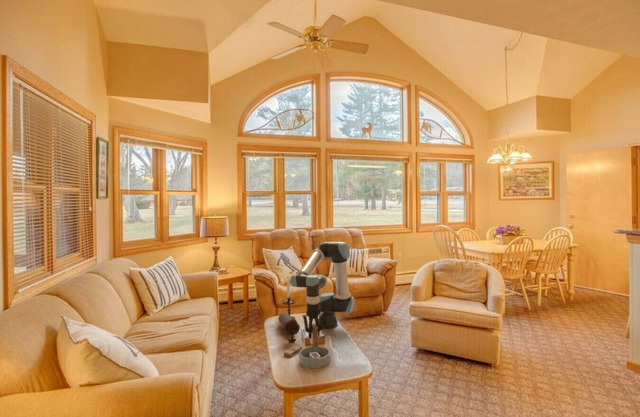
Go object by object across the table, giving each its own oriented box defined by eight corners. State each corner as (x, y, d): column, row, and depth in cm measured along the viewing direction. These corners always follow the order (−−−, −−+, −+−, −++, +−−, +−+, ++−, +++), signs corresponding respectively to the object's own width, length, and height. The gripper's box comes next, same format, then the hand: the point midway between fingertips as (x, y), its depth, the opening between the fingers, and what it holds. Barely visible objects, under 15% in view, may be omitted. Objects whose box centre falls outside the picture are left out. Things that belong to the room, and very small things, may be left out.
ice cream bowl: (301, 337, 230) (300, 315, 230) (298, 344, 219) (298, 321, 219) (286, 337, 231) (285, 315, 231) (282, 344, 220) (282, 321, 220)
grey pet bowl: (322, 351, 208) (322, 343, 208) (335, 363, 191) (334, 355, 191) (295, 357, 201) (295, 349, 201) (306, 370, 185) (305, 361, 185)
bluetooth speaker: (277, 325, 254) (277, 312, 254) (289, 324, 257) (289, 311, 257) (285, 336, 233) (285, 322, 232) (298, 334, 236) (297, 320, 236)
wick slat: (314, 343, 198) (314, 323, 198) (318, 347, 194) (317, 326, 194) (310, 344, 197) (310, 324, 197) (313, 347, 193) (313, 327, 193)
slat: (296, 348, 214) (295, 344, 214) (302, 350, 211) (302, 346, 211) (284, 356, 204) (283, 352, 204) (290, 358, 201) (290, 354, 201)
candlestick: (294, 322, 261) (292, 277, 260) (280, 321, 263) (279, 276, 262) (297, 317, 272) (296, 274, 271) (284, 316, 274) (283, 273, 273)
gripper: (322, 299, 202) (323, 338, 202) (298, 302, 196) (299, 343, 196) (327, 302, 195) (329, 342, 195) (302, 306, 189) (303, 347, 189)
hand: (314, 342), depth 196 cm, fingers closed on wick slat, 2 cm apart
